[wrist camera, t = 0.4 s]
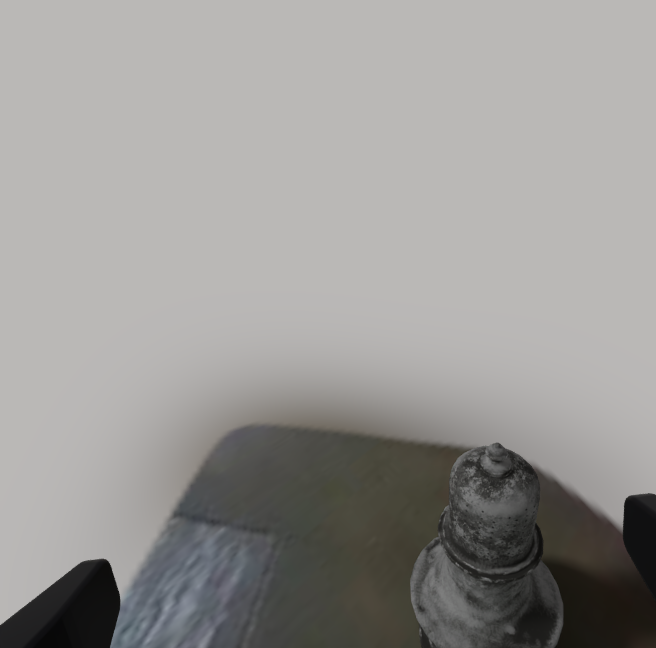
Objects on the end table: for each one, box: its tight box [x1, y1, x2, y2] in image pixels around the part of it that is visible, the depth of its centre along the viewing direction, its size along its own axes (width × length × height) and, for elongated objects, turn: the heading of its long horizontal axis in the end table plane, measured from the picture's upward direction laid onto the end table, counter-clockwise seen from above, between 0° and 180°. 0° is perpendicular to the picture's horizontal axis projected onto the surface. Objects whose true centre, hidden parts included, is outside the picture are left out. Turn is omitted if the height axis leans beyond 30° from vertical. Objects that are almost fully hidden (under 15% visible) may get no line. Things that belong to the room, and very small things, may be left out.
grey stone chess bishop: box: [410, 443, 563, 648], centre depth 19 cm, size 6×6×12 cm
